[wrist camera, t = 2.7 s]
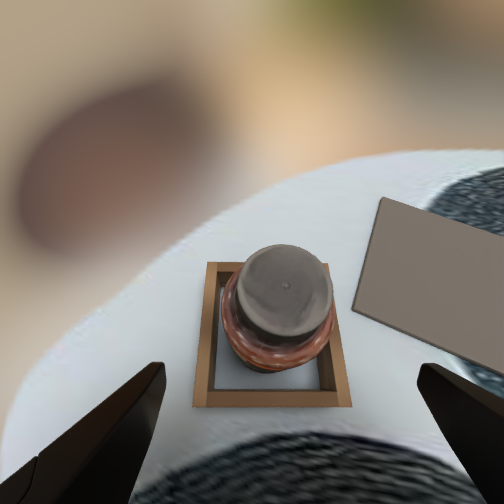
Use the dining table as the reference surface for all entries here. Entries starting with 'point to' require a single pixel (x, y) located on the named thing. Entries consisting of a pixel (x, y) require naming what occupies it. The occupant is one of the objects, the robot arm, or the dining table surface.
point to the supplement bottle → (278, 309)
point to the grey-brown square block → (436, 282)
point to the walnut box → (206, 396)
